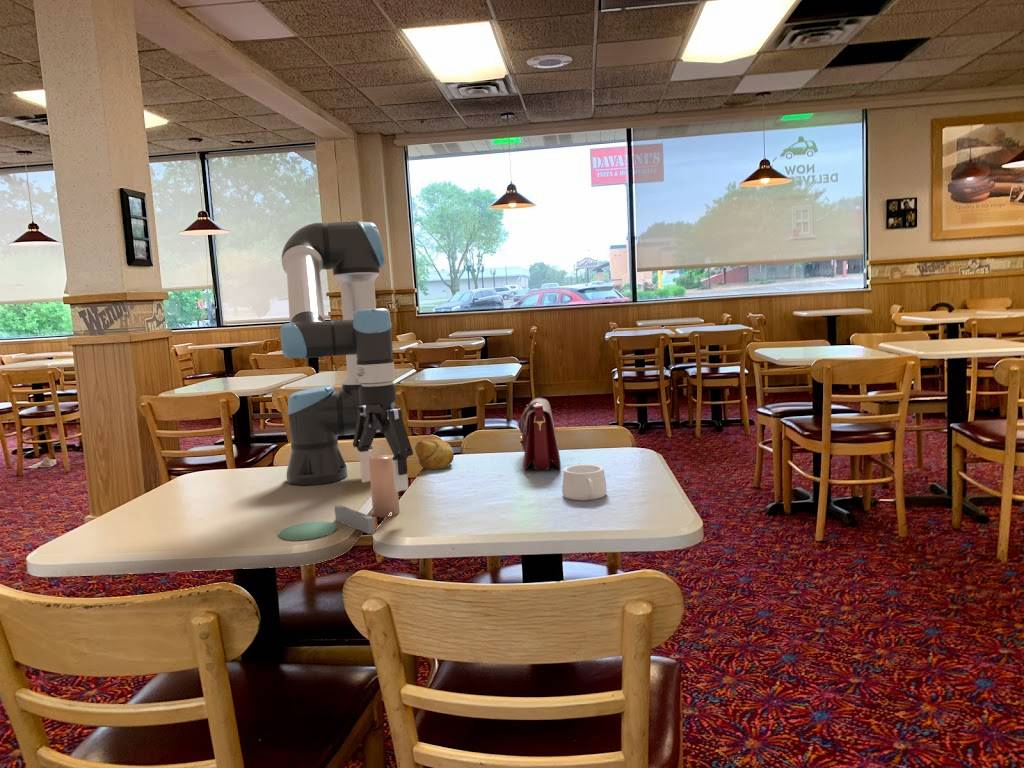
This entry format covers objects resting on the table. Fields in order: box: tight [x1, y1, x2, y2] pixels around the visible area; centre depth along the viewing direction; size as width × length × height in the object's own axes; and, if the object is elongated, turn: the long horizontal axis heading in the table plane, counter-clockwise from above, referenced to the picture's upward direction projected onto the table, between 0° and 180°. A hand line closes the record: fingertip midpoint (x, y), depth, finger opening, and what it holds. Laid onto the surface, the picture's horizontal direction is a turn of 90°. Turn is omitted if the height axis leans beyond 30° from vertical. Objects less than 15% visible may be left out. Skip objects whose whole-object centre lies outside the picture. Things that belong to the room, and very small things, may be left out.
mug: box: [561, 463, 608, 501], centre depth 163 cm, size 12×10×6 cm
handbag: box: [518, 397, 561, 471], centre depth 199 cm, size 28×11×17 cm, turn 178°
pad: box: [278, 520, 338, 542], centre depth 148 cm, size 11×11×1 cm
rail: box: [334, 504, 376, 535], centre depth 150 cm, size 14×1×3 cm, turn 40°
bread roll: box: [414, 438, 455, 470], centre depth 202 cm, size 13×10×8 cm
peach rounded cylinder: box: [369, 454, 400, 518], centre depth 158 cm, size 6×6×12 cm
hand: (384, 485), depth 157 cm, fingers open, 13 cm apart
